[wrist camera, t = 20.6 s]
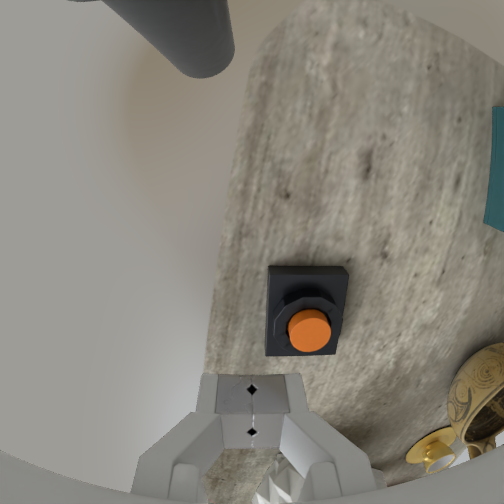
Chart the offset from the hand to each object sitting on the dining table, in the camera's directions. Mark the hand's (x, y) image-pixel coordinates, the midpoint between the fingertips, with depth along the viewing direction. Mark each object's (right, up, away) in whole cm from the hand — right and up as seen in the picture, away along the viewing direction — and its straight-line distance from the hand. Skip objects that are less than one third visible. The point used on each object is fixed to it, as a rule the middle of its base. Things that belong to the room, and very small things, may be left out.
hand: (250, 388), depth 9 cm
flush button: (+6, -3, +22) cm, 22 cm away
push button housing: (+6, -2, +25) cm, 26 cm away
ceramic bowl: (+36, -15, +30) cm, 49 cm away
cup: (+36, -34, +37) cm, 62 cm away
